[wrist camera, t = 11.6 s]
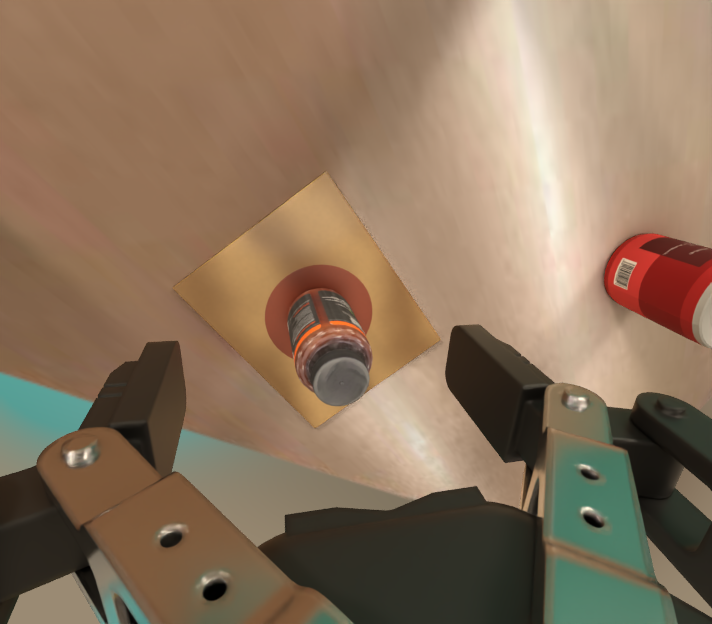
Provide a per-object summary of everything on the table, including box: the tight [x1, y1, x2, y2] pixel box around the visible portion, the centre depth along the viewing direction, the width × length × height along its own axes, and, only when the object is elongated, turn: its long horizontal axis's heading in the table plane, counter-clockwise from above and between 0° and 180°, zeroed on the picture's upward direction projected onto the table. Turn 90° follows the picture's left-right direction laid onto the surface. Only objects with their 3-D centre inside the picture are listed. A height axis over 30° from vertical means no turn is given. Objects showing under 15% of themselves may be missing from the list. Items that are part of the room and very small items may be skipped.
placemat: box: [173, 171, 441, 428], centre depth 39 cm, size 16×20×1 cm
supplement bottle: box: [287, 288, 373, 406], centre depth 34 cm, size 6×6×11 cm
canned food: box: [604, 234, 712, 349], centre depth 40 cm, size 8×8×11 cm
